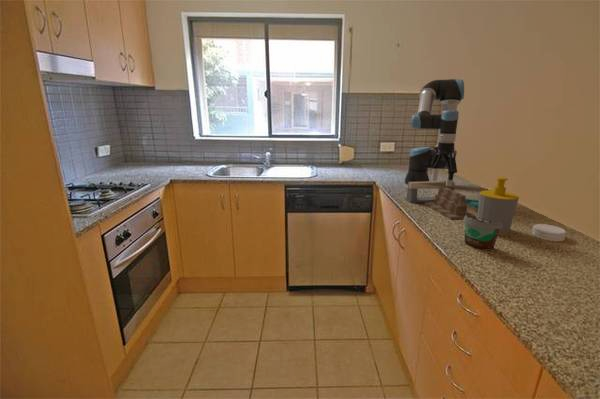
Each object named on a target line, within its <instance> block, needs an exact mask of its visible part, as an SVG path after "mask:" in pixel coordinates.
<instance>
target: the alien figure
mask: <svg viewBox="0 0 600 399" xmlns="http://www.w3.org/2000/svg"><path fill="white" fill-rule="evenodd" d="M465 204H468V206H469V207H471V208H473V207H474V209H478V204H479V199H473V198H472V199H470V198H467V197H465Z"/></svg>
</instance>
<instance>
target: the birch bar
mask: <svg viewBox="0 0 600 399" xmlns="http://www.w3.org/2000/svg"><path fill="white" fill-rule="evenodd" d="M446 181H447V180H437V181H432V180H431V181H430V180H429V181H426V182H408V184H407V189H408V188H409V189H418V190H419V189H420V190H421V189H422V190H423V189H439V186H444V187H446V188H454V189H455V184H456V183H455V181H453V180H452V186H446Z"/></svg>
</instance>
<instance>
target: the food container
mask: <svg viewBox="0 0 600 399" xmlns="http://www.w3.org/2000/svg"><path fill="white" fill-rule="evenodd" d="M462 221H463V222H464V244H465V245H467V246H468V247H471V248H473V249H478V250H484V251H485V250H491V249H494V248H495V245H496V241H497V238H498V236H499V235H498V233H499V230H500V229H501V228H503V224H502V222H500V223H494V222H490V221H488V220H485V219H478V218H477V217H476V218H472V217H467V214H466V215H465V217H464V219H462Z"/></svg>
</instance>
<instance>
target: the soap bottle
mask: <svg viewBox="0 0 600 399" xmlns="http://www.w3.org/2000/svg"><path fill="white" fill-rule="evenodd" d="M495 180H497V183H496V184H497V185H495V186H494V188H493V189H491V190H489V189H487V190H481V191H480V192H479V196H478V200H479V204H478V208H477V215H476V218H478V219H485V220H488V221H490V222H494V223H500V222H502V224H503V228H501V229H500V230H499V233H498V236H505V235H509V233H510V231H511V227H512V223H513V220H514V216H515V212H516V209H517V205H518V202H519V199H520V196H519V195H518V194H515V193H513V192H508V191H506V190H507V187H506V186H505V184H506V183H505V182H506V181H508V180H509V179H508V178H506V177H503V176H502V177H501V176H499V177H495Z"/></svg>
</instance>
